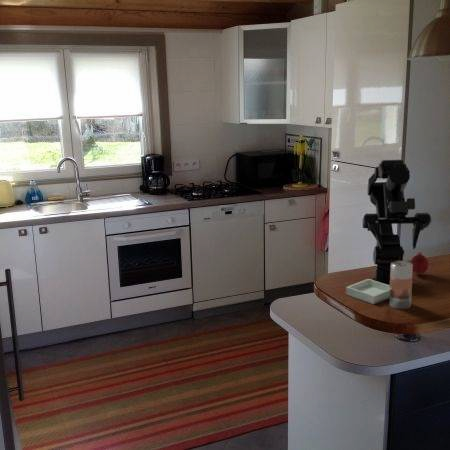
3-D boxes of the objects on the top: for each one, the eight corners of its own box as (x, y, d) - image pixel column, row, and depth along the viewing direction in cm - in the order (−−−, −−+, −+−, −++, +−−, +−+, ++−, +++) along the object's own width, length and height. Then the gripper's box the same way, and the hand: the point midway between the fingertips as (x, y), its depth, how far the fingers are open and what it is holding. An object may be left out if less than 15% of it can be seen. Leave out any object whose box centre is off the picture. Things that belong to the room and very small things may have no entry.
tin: (397, 299, 163) (399, 259, 160) (415, 305, 158) (417, 264, 155) (384, 304, 159) (386, 264, 156) (402, 310, 155) (404, 269, 151)
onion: (429, 278, 178) (430, 255, 177) (411, 277, 180) (412, 254, 178) (426, 272, 184) (427, 249, 182) (408, 271, 185) (409, 249, 183)
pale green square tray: (368, 286, 174) (368, 278, 173) (396, 295, 166) (396, 287, 165) (346, 294, 168) (346, 286, 167) (373, 304, 160) (374, 296, 159)
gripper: (365, 188, 156) (367, 240, 151) (432, 187, 153) (438, 239, 148) (361, 202, 166) (363, 251, 161) (424, 202, 164) (429, 251, 159)
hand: (397, 248), depth 157 cm, fingers open, 9 cm apart
